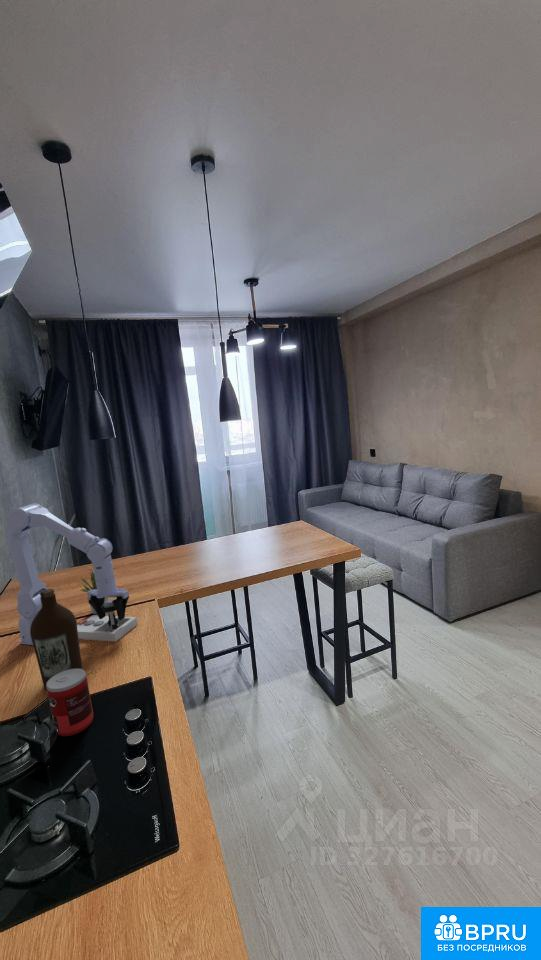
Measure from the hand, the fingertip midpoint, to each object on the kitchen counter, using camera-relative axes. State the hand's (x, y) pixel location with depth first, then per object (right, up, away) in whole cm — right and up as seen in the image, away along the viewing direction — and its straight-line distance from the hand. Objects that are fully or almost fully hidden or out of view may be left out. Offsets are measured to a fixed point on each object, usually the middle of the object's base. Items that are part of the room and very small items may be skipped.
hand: (112, 618), depth 135 cm
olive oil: (-3, -9, -25) cm, 27 cm away
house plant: (-10, -4, +19) cm, 22 cm away
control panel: (-3, -5, +2) cm, 6 cm away
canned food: (+8, -10, -43) cm, 45 cm away
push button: (+1, -5, +1) cm, 5 cm away
